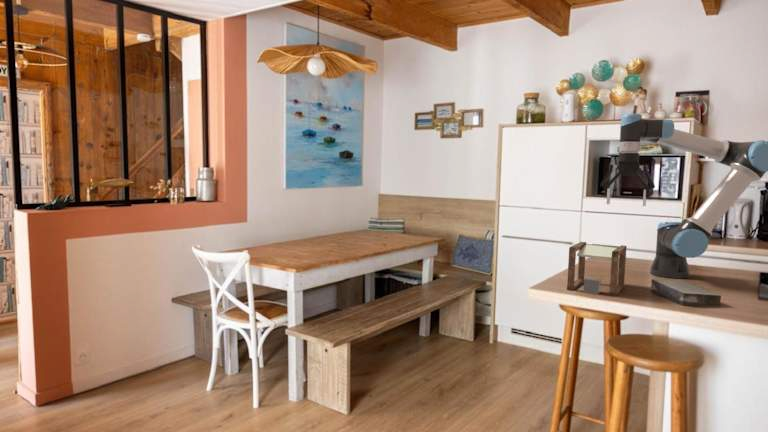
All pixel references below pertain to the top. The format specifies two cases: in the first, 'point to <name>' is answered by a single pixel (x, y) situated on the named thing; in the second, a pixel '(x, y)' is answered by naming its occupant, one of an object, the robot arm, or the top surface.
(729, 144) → the robot arm
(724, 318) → the top surface
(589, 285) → the grey cube
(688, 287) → the block
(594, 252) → the hatch
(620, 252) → the walnut frame
